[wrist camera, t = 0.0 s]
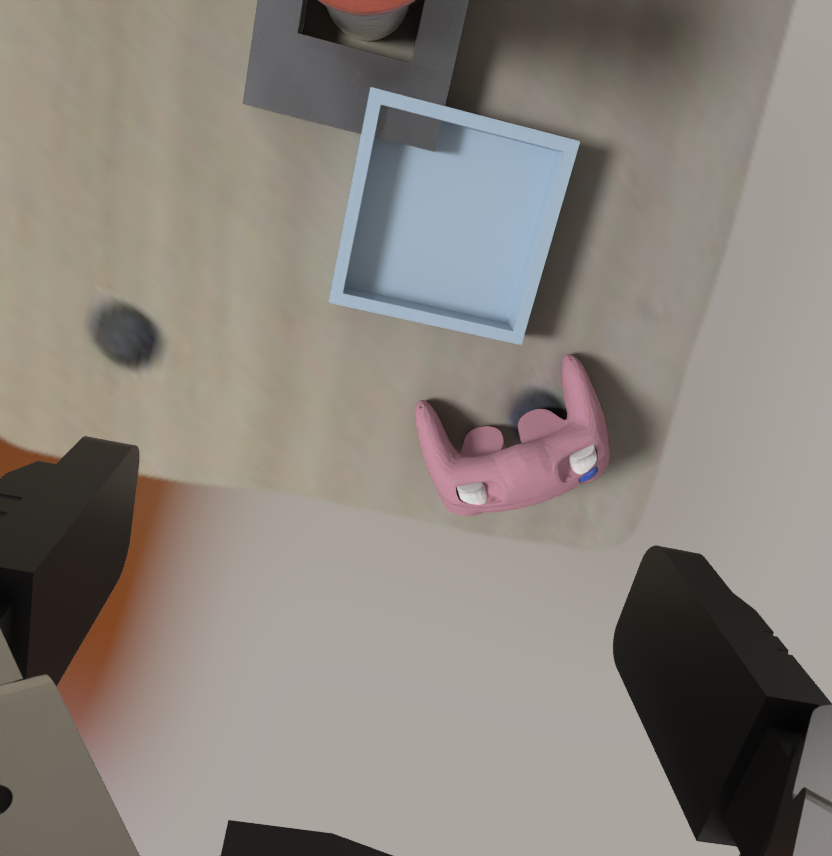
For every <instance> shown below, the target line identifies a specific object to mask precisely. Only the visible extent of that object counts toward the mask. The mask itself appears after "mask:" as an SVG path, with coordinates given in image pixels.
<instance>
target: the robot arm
mask: <svg viewBox="0 0 832 856" xmlns="http://www.w3.org/2000/svg"><path fill="white" fill-rule="evenodd" d="M138 469H139V449H138V447H137V446H135V445H129V444H124V443H119V442H113V441H108V440H103V439H98V438H92V437H87V436H85V437H83V438H81V439H80V440H79V441H78V442H77V443H76V444H75V445H74V447H73V448H72V449H71V450H70V451H69V452H68V453H67V454H66V455H65V456H64V457H63V458H62V459H61V460H60V461H59V462H58V463H57V464H52V463H46V462H41V461H37V462H35V463H32V464H29V465H27V466H24V467H21V468H19V469H16V470H14V471H11V472H8V473H6V474H5V475H4V476H3V477H2V478H1V479H0V856H140V855H139V853H138V851H137V849H136V847H135V845H134V843H133V841H132V839H131V837H130V835H129V833H128V831H127V829H126V827H125V825H124V823H123V821H122V819H121V817H120V815H119V813H118V811H117V809H116V807H115V805H114V803H113V801H112V799H111V797H110V794H109V792H108V790H107V789H106V786H105V784H104V782H103V780H102V778H101V776H100V774H99V772H98V770H97V768H96V767H95V764H94V762H93V760H92V758H91V756H90V754H89V752H88V750H87V748H86V746H85V744H84V742H83V740H82V738H81V736H80V734H79V732H78V730H77V728H76V726H75V724H74V722H73V720H72V717H71V716H70V714H69V711H68V710H67V707H66V705H65V703H64V701H63V699H62V697H61V695H60V693H59V691H58V689H57V685H58V683H59V681H60V680H61V678H62V676H63V674H64V673H65V671H66V669H67V668H68V666H69V664H70V663H71V661H72V659H73V657H74V656H75V654H76V652H77V650H78V649H79V647H80V645H81V644H82V642H83V640H84V638H85V637H86V635H87V633H88V632H89V630H90V628H91V626H92V625H93V623H94V621H95V620H96V618H97V616H98V615H99V613H100V611H101V609H102V608H103V606H104V604H105V603H106V601H107V599H108V597H109V596H110V594H111V592H112V591H113V589H114V587H115V585H116V584H117V582H118V580H119V578H120V575H121V573H122V570H123V567H124V564H125V561H126V557H127V553H128V549H129V544H130V536H131V528H132V520H133V511H134V503H135V494H136V486H137V477H138ZM773 633H774V632H773V631H772V630H771V628H770V627H769V626H768V625H767V624H766V623H765V621H764V620H763V619H762V617H761V616H760V615H759V614H758V613H757V611H755V610H754V609H753V608H752V607H751V606H749V605H748V604H747V603H746V602H744V601H743V600H742V599H740V598H739V597H738V596H736V595H735V594H734V593H733V592H732V591H731V590H730V589H729V588H728V586H727V585H726V584H725V583H724V581H723V580H722V579H721V577H720V576H719V575H718V574H717V572H716V571H715V570H714V569H713V567H712V566H711V565H710V564H709V562H708V561H707V560H706V559H705V557H703V555H701V554H698V553H693V552H688V551H682V550H677V549H672V548H667V547H661V546H653V547H650V548H649V549H648V550H647V551H646V553H645V555H644V556H643V559H642V561H641V563H640V566H639V568H638V571H637V574H636V576H635V579H634V581H633V584H632V587H631V589H630V592H629V594H628V597H627V599H626V602H625V605H624V607H623V610H622V613H621V615H620V618H619V620H618V623H617V626H616V629H615V633H614V639H613V655H614V661H615V665H616V667H617V670H618V672H619V674H620V676H621V678H622V680H623V683H624V685H625V687H626V689H627V691H628V693H629V696H630V698H631V700H632V702H633V704H634V706H635V709H636V711H637V713H638V715H639V717H640V719H641V722H642V724H643V726H644V728H645V730H646V732H647V735H648V737H649V739H650V741H651V743H652V745H653V748H654V750H655V752H656V754H657V756H658V758H659V761H660V763H661V765H662V767H663V769H664V771H665V774H666V776H667V778H668V780H669V782H670V784H671V786H672V789H673V791H674V793H675V795H676V797H677V800H678V801H679V804H680V806H681V808H682V810H683V812H684V815H685V817H686V819H687V821H688V823H689V826H690V828H691V830H692V832H693V834H694V836H695V838H696V841H701V842H708V843H715V844H722V845H730V846H737V847H738V849H739V851H740V854H739V856H832V703H831V702H830V701H829V700H828V698H827V697H826V696H825V695H824V693H823V692H822V691H821V690H820V689H819V687H818V686H817V685H816V684H815V682H814V681H813V680H812V679H811V678H810V676H809V675H808V674H807V673H806V672H805V670H804V669H803V668H802V666H801V665H800V664H799V663H798V662H797V660H796V659H795V658H794V657H793V655H788V649H787V648H786V647H785V646H784V644H783V643H782V642H781V641H780V640H779V638H778V637H776V636H773ZM221 856H392V855H390V854H387V853H384V852H381V851H379V850H376V849H373V848H371V847H368V846H365V845H362V844H360V843H357V842H354V841H351V840H349V839H346V838H343V837H341V836H337V835H335V834H332V833H324V832H316V831H309V830H301V829H293V828H285V827H278V826H270V825H262V824H254V823H247V822H238V821H230V820H229V821H228V825H227V829H226V834H225V839H224V844H223V848H222V853H221Z"/></svg>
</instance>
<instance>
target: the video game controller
mask: <svg viewBox="0 0 832 856" xmlns="http://www.w3.org/2000/svg"><path fill="white" fill-rule="evenodd" d="M561 375H562V386H563V392H564V399H565V404H566V409H567V413H568V414H567V420H563V419H561V418H559V417H558V416H556V415H555V414H554V413H552V412H551V411H549V410H546V409H535V410H532V411H530V412H528V413H526V414H525V415H524V416H522V417H521V419H520V420H519V422H518V430H519V435H520V440H521V443H520V444H516V445H513V446H511V447H508V448H506V449H505V446H504V439H503V435H502V433H501V432H500V431H499V430H498V429H497V428H495V427H489V426H484V427H478V428H475V429H473V430H471V431H470V432H469V433H468V434H467V435H466V437H465V440H464V443H463V447H462V449H461V452H460V453H458V452H457V451H456V450H455V448H454V447H453V445H452V444H451V442H450V441H449V439H448V437H447V434H446V432H445V430H444V428H443V426H442V424H441V421H440V419H439V417H438V415H437V414H436V412H435V411H434V409H433V407H432V406H431V405H430V404H429V403H428V402H426V401H424V400H421V401H419V402H418V404H417V407H416V412H415V417H416V426H417V431H418V437H419V441H420V444H421V449H422V453H423V457H424V460H425V463H426V465H427V468H428V471H429V473H430V475H431V478H432V480H433V483H434V485H435V487H436V489H437V491H438V494H439V496H440V498H441V500H442V502H443V504H444V506H445V507H446V508H447V509H448V510H449V511H450V512H453V513H455V514H458V515H463V516H474V515H478V514H481V513H483V512H499V511H508V510H513V509H519V508H524V507H527V506H531V505H535V504H538V503H541V502H544V501H546V500H549V499H552V498H554V497H556V496H559V495H561V494H563V493H565V492H567V491H569V490H571V489H573V488H574V487H576V486H578V485H579V484H582V483H588V482H590V481H593V480H595V479H597V478H598V477H599V476H601V475H602V474H603V473H604V472H605V470H606V469H607V467H608V465H609V461H610V440H609V434H608V428H607V424H606V420H605V417H604V414H603V411H602V408H601V405H600V403H599V400H598V398H597V395H596V393H595V391H594V388H593V386H592V384H591V381H590V379H589V377H588V374H587V372H586V370H585V369H584V367H583V365H582V364H581V363H580V361H579V360H578V359H577V358H576V357H575V356H573V355H571V354H567V355H565V356H564V358H563V360H562V372H561Z"/></svg>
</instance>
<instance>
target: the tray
mask: <svg viewBox="0 0 832 856" xmlns="http://www.w3.org/2000/svg"><path fill="white" fill-rule="evenodd" d="M381 105H383V106H387V107H391V108H395V109H399V110H403V111H407V112H411V113H414V114H418V115H422V116H426V117H430V118H434V119H438V120H442V122H441V126H440V131H439V135H438V140H437V144H436V148H435V152H432V151H428V150H424V149H420V148H416V147H412V146H408V145H404V144H400V143H396V142H392V141H388V140H384V139H380V138H376V137H374V135H375V130H376V125H377V120H378V116H379V111H380V106H381ZM579 144H580V141H577V140H573V139H569V138H565V137H561V136H558V135H554V134H550V133H546V132H542V131H538V130H535V129H531V128H527V127H523V126H519V125H515V124H511V123H508V122H504V121H500V120H496V119H492V118H488V117H484V116H481V115H477V114H473V113H469V112H465V111H461V110H457V109H454V108H450V107H446V106H442V105H438V104H434V103H430V102H427V101H423V100H419V99H415V98H411V97H407V96H403V95H400V94H396V93H392V92H388V91H384V90H380V89H377V88H373V87H370V92H369V97H368V102H367V108H366V113H365V118H364V123H363V128H362V133H361V138H360V143H359V148H358V154H357V159H356V164H355V169H354V174H353V179H352V184H351V189H350V195H349V200H348V205H347V210H346V215H345V220H344V225H343V230H342V236H341V241H340V246H339V251H338V256H337V261H336V266H335V271H334V276H333V282H332V287H331V292H330V297H329V302H328V303H333V304H337V305H342V306H346V307H351V308H355V309H360V310H364V311H369V312H374V313H378V314H383V315H387V316H392V317H396V318H401V319H405V320H410V321H414V322H419V323H424V324H428V325H433V326H437V327H442V328H446V329H451V330H455V331H460V332H464V333H469V334H474V335H478V336H483V337H487V338H492V339H496V340H501V341H505V342H510V343H514V344H519V345H522V341H523V338H524V334H525V331H526V327H527V324H528V320H529V317H530V313H531V310H532V307H533V303H534V300H535V296H536V293H537V289H538V286H539V282H540V279H541V275H542V272H543V269H544V265H545V262H546V258H547V255H548V251H549V248H550V244H551V241H552V237H553V234H554V230H555V227H556V224H557V220H558V217H559V213H560V210H561V206H562V203H563V199H564V196H565V192H566V189H567V186H568V182H569V179H570V175H571V172H572V168H573V165H574V161H575V158H576V154H577V151H578V147H579Z"/></svg>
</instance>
